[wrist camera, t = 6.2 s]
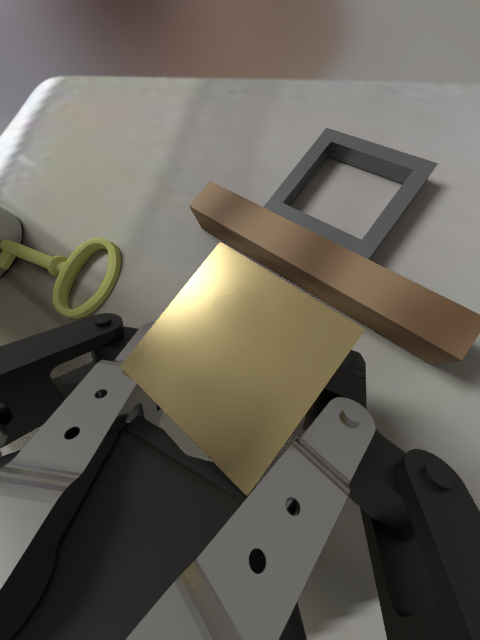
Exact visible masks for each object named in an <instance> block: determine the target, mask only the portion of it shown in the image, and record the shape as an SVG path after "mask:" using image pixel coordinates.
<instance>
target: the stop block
mask: <svg viewBox="0 0 480 640" xmlns="http://www.w3.org/2000/svg"><path fill="white" fill-rule="evenodd" d="M364 331H365V329H364V328H362V327H360V326H359V325H357V324H355V323H354V322H352V321H351V320H349V319H347V318H346V317H344V316H342V315H341V314H339V313H337V312H336V311H334V310H332V309H331V308H329V307H327V306H326V305H324V304H322V303H321V302H319V301H317V300H316V299H314V298H312V297H311V296H309V295H307V294H306V293H304V292H303V291H301V290H299V289H298V288H296V287H294V286H293V285H291V284H289V283H288V282H286V281H284V280H283V279H281V278H279V277H278V276H276V275H274V274H273V273H271V272H269V271H268V270H266V269H264V268H263V267H261V266H259V265H258V264H256V263H255V262H253V261H251V260H250V259H248V258H246V257H245V256H243V255H241V254H240V253H238V252H236V251H235V250H233V249H231V248H230V247H228V246H226V245H225V244H223V243H221V242H220V243H219V244H218V245H217V247H216V248H215V249H214V250H213V252H212V253H211V254H210V255H209V256H208V258H207V259H206V260H205V261H204V263H203V264H202V265H201V266H200V268H199V269H198V270H197V271H196V273H195V274H194V275H193V276H192V278H191V279H190V280H189V281H188V283H187V284H186V285H185V286H184V287H183V289H182V290H181V291H180V292H179V294H178V295H177V296H176V297H175V299H174V300H173V301H172V302H171V304H170V305H169V306H168V307H167V309H166V310H165V311H164V312H163V314H162V315H161V316H160V317H159V318H158V320H157V321H156V322H155V323H154V325H153V326H152V327H151V328H150V330H149V331H148V332H147V333H146V335H145V336H144V337H143V338H142V340H141V341H140V342H139V343H138V345H137V346H136V347H135V348H134V350H133V351H132V352H131V353H130V354H129V356H128V357H127V358H126V359H125V361H124V362H123V363H122V364H121V366H120V367H121V368H122V369H123V370H124V371H125V372H126V373H127V374H128V375H129V376H130V377H131V378H132V379H133V380H134V381H135V382H136V383H137V384H138V385H139V386H140V387H141V388H142V389H143V390H144V391H145V392H146V393H147V394H148V395H149V396H150V397H151V398H152V399H153V400H154V401H155V402H156V404H157V405H158V406H159V407H160V408H161V409H162V410H163V411H164V412H165V413H166V414H167V415H168V416H169V417H170V418H171V419H172V420H173V421H174V422H175V423H176V424H177V425H178V426H179V427H180V428H181V429H182V430H183V431H184V432H185V433H186V434H187V435H188V436H189V437H190V438H191V439H192V441H193V442H194V443H195V444H196V445H197V446H198V447H199V448H200V449H201V450H202V451H203V452H204V453H205V454H206V455H207V456H208V457H209V458H210V459H211V460H212V461H213V462H214V463H215V464H216V465H217V466H218V467H219V468H220V469H221V470H222V471H223V472H224V473H225V474H226V475H227V476H228V478H229V479H230V480H231V481H232V482H233V483H234V484H235V485H236V486H237V487H238V488H239V489H240V490H241V491H242V492H243V493H244V494H245V495H246V496H247V497H248V495H249V494H250V492H251V491H252V489H253V488H254V487H255V485H256V484H257V482H258V481H259V480H260V478H261V477H262V475H263V474H264V472H265V471H266V470H267V468H268V467H269V465H270V464H271V463H272V461H273V460H274V458H275V457H276V455H277V454H278V453H279V451H280V450H281V448H282V447H283V446H284V444H285V443H286V441H287V440H288V438H289V437H290V436H291V434H292V433H293V431H294V430H295V428H296V427H297V426H298V424H299V423H300V421H301V420H302V419H303V417H304V416H305V414H306V413H307V411H308V410H309V409H310V407H311V406H312V404H313V403H314V402H315V400H316V399H317V397H318V396H319V394H320V393H321V392H322V390H323V389H324V387H325V386H326V385H327V383H328V382H329V380H330V379H331V377H332V376H333V375H334V373H335V372H336V370H337V369H338V367H339V366H340V365H341V363H342V362H343V360H344V359H345V358H346V356H347V355H348V353H349V352H350V350H351V349H352V348H353V346H354V345H355V343H356V342H357V341H358V339H359V338H360V336H361V335H362V333H363V332H364Z"/></svg>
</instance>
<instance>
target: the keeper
mask: <svg viewBox="0 0 480 640" xmlns="http://www.w3.org/2000/svg"><path fill="white" fill-rule="evenodd" d="M328 157H330V158H333V159H335V160H338V161H341V162H344V163H346V164H349V165H352V166H355V167H357V168H360V169H363V170H366V171H368V172H371V173H374V174H377V175H379V176H382V177H385V178H387V179H390V180H393V181H396V182H398V183H401V184H403V185H402V186H401V187H400V189H399V190H398V192H397V193H396V194H395V196H394V197H393V198H392V200H391V201H390V202H389V204H388V205H387V206H386V208H385V209H384V211H383V212H382V213H381V215H380V216H379V217H378V219H377V220H376V221H375V223H374V224H373V225H372V227H371V228H370V230H369V231H368V232H367V234H366V235H365V236H364V238H363V239H362V240H361V239H358V238H356V237H354V236H352V235H350V234H348V233H346V232H344V231H341V230H339V229H337V228H335V227H333V226H331V225H329V224H327V223H324V222H322V221H320V220H318V219H316V218H314V217H312V216H310V215H307V214H305V213H303V212H301V211H299V210H297V209H295V208H293V207H291V206H290V205H291V204H292V202H293V201H294V200H295V199H296V197H297V196H298V195H299V193H300V192H301V191H302V190H303V188H304V187H305V186H306V185H307V183H308V182H309V181H310V179H311V178H312V177H313V176H314V174H315V173H316V172H317V171H318V169H319V168H320V167H321V165H322V164H323V163H324V162H325V160H326V159H327V158H328ZM437 164H438V163H435V162H431V161H428V160H425V159H422V158H419V157H416V156H413V155H410V154H407V153H403V152H400V151H397V150H394V149H391V148H388V147H385V146H382V145H378V144H375V143H372V142H369V141H366V140H363V139H360V138H357V137H354V136H350V135H347V134H344V133H341V132H338V131H335V130H332V129H329V128H326V129H325V130H324V132H323V133H322V134H321V135H320V137H319V138H318V139H317V140H316V142H315V143H314V144H313V145H312V147H311V148H310V149H309V150H308V152H307V153H306V154H305V156H304V157H303V158H302V159H301V161H300V162H299V163H298V164H297V166H296V167H295V168H294V169H293V171H292V172H291V173H290V174H289V176H288V177H287V178H286V179H285V181H284V182H283V183H282V184H281V186H280V187H279V188H278V189H277V191H276V192H275V193H274V194H273V196H272V197H271V198H270V199H269V201H268V202H267V203H266V205H265V206H264V207H263V208H266V209H268V210H270V211H272V212H274V213H276V214H278V215H280V216H282V217H284V218H286V219H288V220H290V221H292V222H294V223H296V224H298V225H300V226H302V227H304V228H306V229H308V230H310V231H312V232H314V233H316V234H318V235H320V236H322V237H324V238H326V239H328V240H330V241H332V242H334V243H336V244H338V245H340V246H342V247H344V248H346V249H348V250H350V251H352V252H354V253H356V254H358V255H360V256H362V257H364V258H366V259H368V260H369V259H370V257H371V256H372V255H373V253H374V252H375V251H376V249H377V248H378V246H379V245H380V244H381V242H382V241H383V239H384V238H385V237H386V235H387V234H388V233H389V231H390V230H391V228H392V227H393V226H394V224H395V223H396V222H397V220H398V219H399V217H400V216H401V215H402V213H403V212H404V211H405V209H406V208H407V206H408V205H409V204H410V202H411V201H412V200H413V198H414V197H415V195H416V194H417V193H418V191H419V190H420V189H421V187H422V186H423V184H424V183H425V182H426V180H427V179H428V177H429V176H430V174H431V173H432V171H433V170H434V169H435V167H436V166H437Z"/></svg>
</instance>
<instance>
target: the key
mask: <svg viewBox="0 0 480 640" xmlns="http://www.w3.org/2000/svg"><path fill="white" fill-rule="evenodd" d="M0 248H1V249H2V250H3V251H2V252H1V254H0V267H2V268H4V269H7V270H8V269H9V267H10V265H11V264H12V262H13V261H14V259H15V257H16V256H17V257H19V258H22V259H24V260H27V261H29V262H32V263H34V264H36V265H39V266H41V267H44V268H46V269H48V271H49V273H50V274H52V275H53V276H54V277H57V279H56V281H55V284H54V288H53V296H52V301H53V305H54V307H55V309H56V310H57V311H58V312H59V313H61V314H63V315H65V316H67V317H69V318H72V319H80V318H83V317H86V316H88V315H90V314H91V313H92V312H94V311H95V310H96V309H97V308H98V307H99V306H100V305H101V304H102V303H103V302H104V301H105V300H106V298H107V297H108V295H109V294H110V292H111V290H112V289H113V287H114V285H115V282H116V280H117V278H118V275H119V272H120V267H121V254H120V251H119V249H118V247H117V246H116V245H115V244H114V243H112V242H110V241H108V240H106V239H103V238H92V239H89V240H87V241H85V242H84V243H82V244H81V245H80V246H78V247H77V248H76V249H75V250H74V251H73V252H72V254H71V255H70V256H69V258H66V257H64V256H61V255H60V256H54V257H52V256H50V255H47V254H45V253H42V252H40V251H37V250H34V249H32V248H29V247H27V246H24V245H21V244H19V243H16V242H14V241H11V240H3V241H2V242H0ZM101 249H107V250H108V268H107V272H106V275H105V278H104V280H103V282H102V283H101V285H100V287H99V289H98V290H97V291H96V292H95V294H94V295H93V296H92V297H91V298H90V299H89V300H87V301H86V302H85V303H84V304H82V305H81V306H79V307H77V308H75V309H71V308H70V306H69V303H68V299H69V293H70V289H71V286H72V284H73V282H74V280H75V278H76V276H77V274H78V272H79V271H80V269H81V267H82V266H83V265H84V263H85V262H86V261H87V260H88V258H89V257H90V256H91V255H93V254H94V253H95V252H96V251H98V250H101Z"/></svg>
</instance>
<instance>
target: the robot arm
mask: <svg viewBox="0 0 480 640" xmlns="http://www.w3.org/2000/svg"><path fill="white" fill-rule="evenodd" d="M21 239H22V228H21V223H20V221H19V220H18V218H17V217H16V216H15V215H13V214H12V213H10V212H9V211H7V210H5V209H4V208H2V207H0V242H2V241H3V240H11V241H14V242H16V243H19V244H20V243H21ZM2 251H3V250H2V249H1V248H0V254H1V252H2ZM6 270H7V269H4V268H2V267H0V276H1V275H2V274H3V273H4V272H5V271H6ZM154 323H155V322H151V323H148V324H145V325H143V326H142V327H141V328H140V329H136V328H129V327H123V322H122V318H121V317H120V316H118V315H116V314H111V313H104V314H98V315H94V316H91V317H88V318H85V319H82V320H79V321H76V322H73V323H70V324H67V325H64V326H61V327H58V328H55V329H52V330H49V331H46V332H43V333H40V334H37V335H34V336H31V337H28V338H25V339H22V340H19V341H16V342H13V343H10V344H7V345H4V346H1V347H0V448H2V447H4V446H6V445H8V444H9V443H11V442H13V441H15V440H16V439H18V438H20V437H22V436H24V435H25V434H27V433H29V432H31V431H33V430H34V429H36V428H38V427H40V426H41V425H43V424H44V425H43V426H42V427H41V428H40V429H39V430H38V432H37V433H36V434H35V435H34V436H33V437H32V438H31V440H30V441H29V442H28V443H27V444H26V445H25V446H24V448H23V449H22V450H19V451H16V452H13V453H10V454H7V455H5V456H2V452H1V451H0V640H307V639H306V635H305V631H304V627H303V623H302V619H301V615H300V611H299V607H298V603H297V601H298V599H299V596H300V594H301V592H302V590H303V588H304V586H305V584H306V582H307V580H308V578H309V576H310V574H311V572H312V570H313V568H314V565H315V563H316V561H317V559H318V557H319V555H320V553H321V551H322V549H323V547H324V545H325V543H326V541H327V539H328V537H329V535H330V532H331V530H332V528H333V526H334V524H335V522H336V520H337V518H338V516H339V514H340V512H341V510H342V508H343V506H344V504H345V501H346V499H347V497H348V496H349V497H350V498H351V499H352V500H353V501H354V502H355V503H356V504H357V505H359V506H360V508H361V514H362V519H363V523H364V528H365V533H366V538H367V543H368V548H369V553H370V558H371V562H372V567H373V572H374V577H375V582H376V587H377V592H378V597H379V601H380V606H381V611H382V616H383V621H384V626H385V631H386V635H387V640H480V511H479V510H478V508H477V506H476V504H475V502H474V501H473V499H472V497H471V495H470V493H469V492H468V490H467V488H466V486H465V485H464V483H463V481H462V480H461V479H460V477H459V476H458V475H457V473H456V472H455V471H454V470H453V469H452V468H451V467H450V466H449V465H448V464H446V463H445V462H444V461H443V460H441V459H440V458H438V457H437V456H435V455H433V454H432V453H429V452H427V451H424V450H420V449H413V450H410V451H408V452H407V453H405V452H404V451H402V450H401V449H400V448H398V447H397V446H396V445H394V444H393V443H391V442H390V441H389V440H387V439H386V438H385V437H383V436H382V435H381V434H380V433H379V432H378V431H377V430H376V429H375V428H376V427H375V422H374V420H373V418H372V416H371V415H370V413H369V412H368V411H367V410H366V381H365V380H366V373H365V372H366V364H365V361H364V359H363V357H362V356H361V354H360V353H358V352H356V351H353V350H350V352H349V353H348V355H347V356H346V358H345V359H344V360H343V362H342V363H341V365H340V366H339V367H338V369H337V370H336V372H335V373H334V375H333V376H332V377H331V379H330V380H329V382H328V383H327V385H326V386H325V387H324V389H323V390H322V392H321V393H320V394H319V396H318V397H317V399H316V400H315V402H314V403H313V404H312V406H311V407H310V409H309V410H308V411H307V414H306V418H305V422H304V426H303V430H305V431H306V432H305V433H304V434H303V435H302V437H301V438H300V439H299V440H295V441H294V442H293V443H292V444H291V445H290V447H289V448H288V449H287V450H286V451H285V453H284V454H283V455H282V456H281V457H280V459H279V460H278V461H277V462H276V463H275V465H274V466H273V467H272V468H271V470H270V471H269V472H268V473H267V474H266V476H265V477H264V478H263V479H262V480H261V482H260V483H259V484H258V485H257V484H256V485H257V486H256V485H255V487H254V488H253V489H252V491H251V492H250V494H249V495H248V497H247V496H246V495H245V494H244V493H243V492H242V491H241V490H240V489H239V488H238V487H237V486H236V485H235V484H234V483H233V482H232V481H231V480H230V479H229V478H228V476H227V475H226V474H225V473H224V472H223V471H222V470H221V469H220V468H219V467H218V466H217V465H216V464H215V463H214V462H210V461H206V460H202V459H198V458H194V457H190V456H188V455H186V454H185V453H184V452H183V451H182V450H181V449H180V448H179V447H178V446H177V445H176V443H175V442H174V441H173V440H172V439H171V438H170V437H169V436H168V434H167V433H166V432H165V431H164V430H163V429H161V428H159V423H160V419H161V416H162V413H163V410H162V409H161V408H160V407H159V406H158V405H157V404H156V402H155V401H154V400H153V399H152V398H151V397H150V396H149V395H148V394H147V393H146V392H145V391H144V390H143V389H142V388H141V387H140V386H139V385H138V384H137V383H136V382H135V381H134V380H133V379H132V378H131V377H130V376H129V375H128V374H127V373H126V372H125V371H124V370H123V369H122V368H121V367H120V366H121V364H122V363H123V362H124V361H125V359H126V358H127V357H128V356H129V354H130V353H131V352H132V351H133V350H134V348H135V347H136V346H137V345H138V343H139V342H140V341H141V340H142V338H143V337H144V336H145V335H146V333H147V332H148V331H149V330H150V328H151V327H152V326H153V325H154ZM88 352H90V353H91V356H92V359H93V362H91V363H89V364H86V365H84V366H82V367H80V368H78V369H76V370H73V371H71V372H69V373H67V374H65V375H62V376H60V377H58V378H54V379H51V377H50V373H51V371H52V370H53V369H54V368H55V367H56V366H58V365H60V364H62V363H64V362H67V361H69V360H71V359H74V358H76V357H78V356H81V355H83V354H85V353H88ZM1 456H2V457H1Z"/></svg>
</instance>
